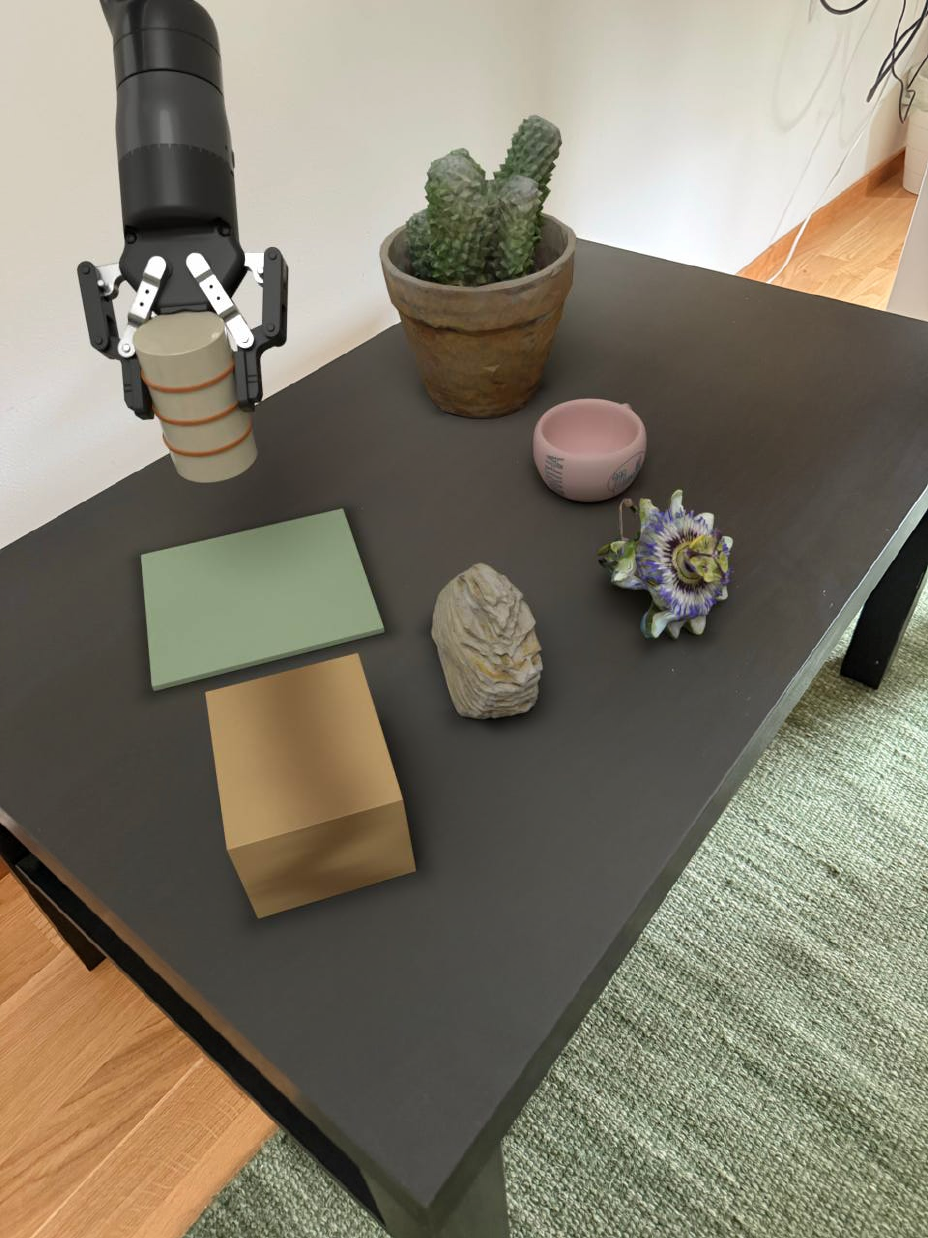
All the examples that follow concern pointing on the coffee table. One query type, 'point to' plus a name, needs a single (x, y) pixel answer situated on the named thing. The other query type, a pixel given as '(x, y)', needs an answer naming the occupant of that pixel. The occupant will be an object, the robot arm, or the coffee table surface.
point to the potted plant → (483, 276)
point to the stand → (307, 786)
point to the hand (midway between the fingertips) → (196, 413)
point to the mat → (255, 598)
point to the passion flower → (671, 565)
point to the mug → (589, 448)
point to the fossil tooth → (487, 644)
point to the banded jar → (196, 394)
